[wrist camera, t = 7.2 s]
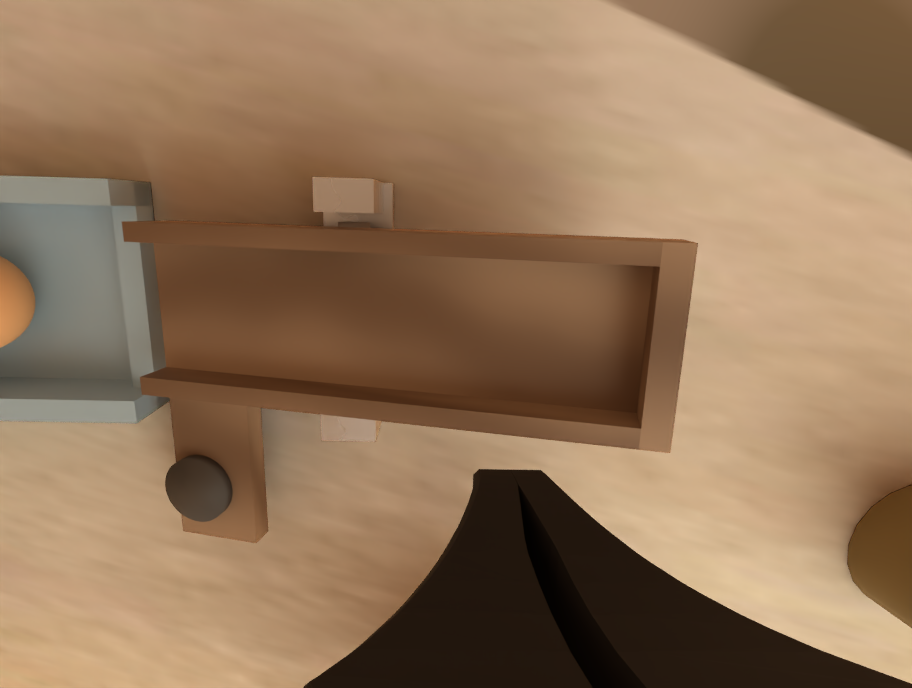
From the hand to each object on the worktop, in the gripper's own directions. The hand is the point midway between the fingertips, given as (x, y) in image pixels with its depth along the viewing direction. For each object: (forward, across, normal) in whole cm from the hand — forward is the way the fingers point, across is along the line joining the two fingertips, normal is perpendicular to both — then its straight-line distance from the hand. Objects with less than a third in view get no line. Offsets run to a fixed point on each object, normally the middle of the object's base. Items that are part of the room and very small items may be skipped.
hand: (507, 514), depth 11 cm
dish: (+10, +16, -2) cm, 19 cm away
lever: (+8, +3, +1) cm, 9 cm away
